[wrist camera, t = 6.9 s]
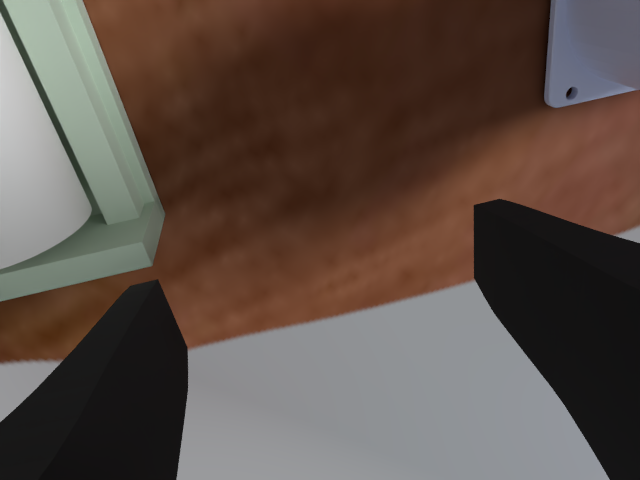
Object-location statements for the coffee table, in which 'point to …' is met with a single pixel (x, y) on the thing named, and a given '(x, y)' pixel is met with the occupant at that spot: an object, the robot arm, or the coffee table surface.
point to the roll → (32, 168)
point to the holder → (84, 151)
